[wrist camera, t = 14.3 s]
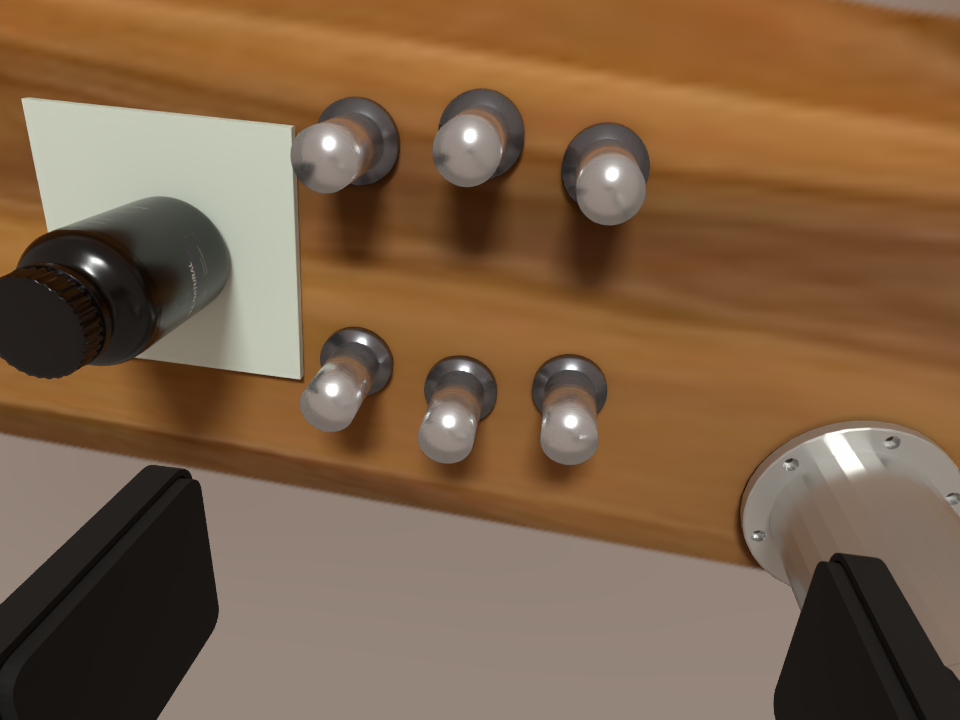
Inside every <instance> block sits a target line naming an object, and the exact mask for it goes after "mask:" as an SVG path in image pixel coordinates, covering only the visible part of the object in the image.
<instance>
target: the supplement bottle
mask: <svg viewBox="0 0 960 720" xmlns="http://www.w3.org/2000/svg"><path fill="white" fill-rule="evenodd" d="M228 273H229V257H228V252H227V248H226V245H225V242H224V240H223V238H222V236H221V234H220V232H219V230H218V229H217V227H216V226H215V225H214V224H213V222H212V221H211V220H210V219H209V218H208V217H207V216H206V215H205V214H204V213H203V212H201V211H200V210H199V209H197V208H196V207H194V206H193V205H191V204H189V203H187V202H185V201H182V200H179V199H176V198H172V197H165V196H154V197H148V198H143V199H140V200H137V201H134V202H131V203H128V204H125V205H123V206H120V207H117V208H114V209H111V210H109V211H106V212H103V213H100V214H97V215H95V216H92V217H89V218H86V219H84V220H81V221H78V222H75V223H72V224H70V225H67V226H64V227H61V228H58V229H56V230H53V231H51V232H48V233H46V234H44V235H42V236H40V237H39V238H37V239H36V240H34V241H33V242H32V243H31V244H30V245H29V246H28V247H27V248H26V249H25V251H24V252H23V254H22V256H21V258H20V260H19V262H18V264H17V267H16V270H14V271H13V272H11V273H10V274H7V275H5V276H2V277H0V357H1V358H2V359H4V360H6V361H7V363H8V364H9V365H11V366H13V367H15V368H16V369H17V370H18V371H21V372H25V373H26V374H27V375H29V376H35V377H37V378H46V379H52V378H61V377H63V376H68V375H70V374H72V373H73V372H75V371H76V370H78V369H80V368H81V367H83V366H86V365H94V366H110V365H117V364H121V363H124V362H127V361H129V360H131V359H133V358H135V357H136V356H138V355H140V354H141V353H143V352H144V351H145V350H147V349H148V348H150V347H151V346H152V345H154V344H155V343H157V342H158V341H159V340H161V339H162V338H163V337H165V336H166V335H168V334H169V333H170V332H172V331H173V330H175V329H176V328H177V327H179V326H180V325H181V324H183V323H184V322H186V321H187V320H188V319H190V318H191V317H193V316H194V315H195V314H197V313H198V312H199V311H201V310H202V309H204V308H205V307H206V306H207V305H209V304H210V303H211V302H213V301H214V300H215V299H216V298H217V297H218V295H219V294H220V293H221V291H222V290H223V288H224V286H225V284H226V281H227V278H228Z"/></svg>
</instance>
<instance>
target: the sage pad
mask: <svg viewBox="0 0 960 720" xmlns="http://www.w3.org/2000/svg"><path fill="white" fill-rule="evenodd" d="M22 104H23V109H24V114H25V119H26V124H27V129H28V134H29V139H30V144H31V149H32V154H33V159H34V164H35V169H36V174H37V179H38V184H39V189H40V194H41V199H42V204H43V209H44V214H45V219H46V224H47V229H48V232H51V231H53V230H56V229H58V228H61V227H64V226H67V225H70V224H72V223H75V222H78V221H81V220H84V219H86V218H89V217H92V216H95V215H97V214H100V213H103V212H106V211H109V210H111V209H114V208H117V207H120V206H123V205H125V204H128V203H131V202H134V201H137V200H140V199H143V198H148V197H154V196H165V197H172V198H176V199H179V200H182V201H185V202H187V203H189V204H191V205H193V206H194V207H196V208H197V209H199V210H200V211H201V212H203V213H204V214H205V215H206V216H207V217H208V218H209V219H210V220H211V221H212V222H213V224H214V225H215V226H216V227H217V229H218V230H219V232H220V234H221V236H222V238H223V240H224V242H225V245H226V248H227V252H228V257H229V273H228V278H227V281H226V284H225V286H224V288H223V290H222V291H221V293H220V294H219V295H218V297H217V298H216V299H215V300H214V301H213V302H211V303H210V304H209V305H207V306H206V307H205V308H204V309H202V310H201V311H199V312H198V313H197V314H195V315H194V316H193V317H191V318H190V319H188V320H187V321H186V322H184V323H183V324H181V325H180V326H179V327H177V328H176V329H175V330H173V331H172V332H170V333H169V334H168V335H166V336H165V337H163V338H162V339H161V340H159V341H158V342H157V343H155V344H154V345H152V346H151V347H150V348H148V349H147V350H145V351H144V352H143V353H141V354H140V355H138V356H136V357H135V358H143V359H150V360H158V361H165V362H173V363H180V364H188V365H195V366H203V367H210V368H218V369H225V370H233V371H240V372H248V373H255V374H263V375H270V376H278V377H285V378H293V379H301V378H302V377H303V376H304V365H303V336H302V307H301V278H300V249H299V220H298V191H297V176H296V174H295V172H294V170H293V168H292V164H291V158H290V152H291V146H292V143H293V141H294V139H295V138H296V133H295V126H293V125H283V124H274V123H265V122H255V121H246V120H236V119H227V118H217V117H208V116H199V115H189V114H180V113H170V112H161V111H151V110H142V109H133V108H123V107H114V106H104V105H95V104H85V103H76V102H67V101H57V100H48V99H38V98H22Z"/></svg>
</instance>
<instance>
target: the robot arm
mask: <svg viewBox="0 0 960 720" xmlns="http://www.w3.org/2000/svg"><path fill="white" fill-rule="evenodd" d="M740 518H741V527H742V531H743V534H744V537H745V541H746V543H747V545H748V547H749V549H750V551H751V554H752V555H753V557H754V558H755V559H756V560H757V562H758V563H759V564H760V565H761V567H762V568H763V569H765V570H766V571H767V572H768V573H770V574H771V575H772V576H773V577H775V578H776V579H778V580H780V581H782V582H784V583H786V584H787V585H789V586H791V588H792V590H793V593H794V595H795V598H796V600H797V603H798V605H799V607H800V610H801V613H800V617H799V619H798V622H797V626H796V628H795V632H794V635H793V637H792V641H791V644H790V647H789V650H788V653H787V656H786V659H785V662H784V665H783V668H782V671H781V674H780V677H779V680H778V683H777V686H776V689H775V693H774V715H775V719H776V720H960V471H959V469H958V467H957V466H956V465H955V464H954V462H953V461H952V460H951V459H950V457H949V456H948V455H947V454H946V453H945V452H944V451H943V450H942V449H941V448H940V447H939V446H938V445H937V444H936V443H935V442H934V441H932V440H931V439H929V438H927V437H926V436H924V435H922V434H921V433H919V432H917V431H915V430H912V429H909V428H906V427H903V426H901V425H898V424H893V423H886V422H880V421H848V422H841V423H835V424H830V425H826V426H823V427H820V428H817V429H813V430H810V431H808V432H806V433H804V434H802V435H800V436H797V437H795V438H793V439H791V440H790V441H788V442H787V443H785V444H784V445H782V446H781V447H779V448H778V449H776V450H775V451H774V452H773V453H772V454H770V455H769V456H768V457H767V458H766V459H765V460H764V461H763V462H762V463H761V464H760V465H759V467H758V468H757V470H756V471H755V472H754V474H753V475H752V477H751V478H750V479H749V482H748V484H747V486H746V489H745V491H744V493H743V497H742V502H741V508H740ZM218 613H219V606H218V599H217V592H216V585H215V578H214V572H213V565H212V558H211V551H210V545H209V538H208V531H207V524H206V517H205V511H204V504H203V497H202V491H201V486H200V483H199V482H198V481H197V480H193V479H192V476H191V474H190V472H189V471H188V470H186V469H181V468H174V467H166V466H158V465H149V466H147V467H145V468H144V469H142V470H141V471H140V472H139V473H138V474H137V475H136V476H135V477H134V478H133V479H132V480H131V481H130V482H129V483H128V484H127V485H126V486H125V487H124V488H122V489H121V490H120V491H119V492H118V493H117V494H116V495H115V496H114V497H113V498H112V499H111V500H110V501H109V502H108V503H107V504H106V505H105V506H104V507H102V509H100V510H99V511H98V512H97V513H96V514H95V515H94V516H93V517H92V518H91V519H90V520H89V521H88V522H87V523H86V524H85V525H84V526H83V527H81V528H80V529H79V530H78V531H77V532H76V533H75V534H74V535H73V536H72V537H71V538H70V539H69V540H68V541H67V542H66V543H65V544H64V545H62V547H60V549H58V550H57V551H56V552H55V553H54V554H53V555H52V556H51V557H50V558H49V559H48V560H47V561H46V562H45V563H44V564H43V565H42V566H40V567H39V568H38V569H37V570H36V571H35V572H34V573H33V574H32V575H31V576H30V577H29V578H28V579H27V580H26V581H25V582H24V583H23V584H22V585H20V586H19V587H18V588H17V589H16V590H15V591H14V592H13V593H12V594H11V595H10V596H9V597H8V598H7V599H6V600H5V601H4V602H3V603H1V604H0V720H157V718H158V717H159V715H160V713H161V712H162V710H163V709H164V707H165V706H166V704H167V702H168V701H169V699H170V698H171V696H172V695H173V693H174V692H175V690H176V688H177V687H178V685H179V683H180V682H181V681H182V679H183V677H184V676H185V674H186V673H187V671H188V669H189V668H190V666H191V665H192V663H193V662H194V660H195V658H196V657H197V656H198V654H199V652H200V651H201V649H202V648H203V646H204V644H205V643H206V641H207V640H208V638H209V637H210V635H211V634H212V632H213V630H214V628H215V625H216V623H217V618H218Z"/></svg>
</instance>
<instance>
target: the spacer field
mask: <svg viewBox="0 0 960 720" xmlns="http://www.w3.org/2000/svg"><path fill="white" fill-rule="evenodd" d="M524 136H525V131H524V124H523V120H522V117H521V114H520V112H519V110H518V109H517V107H516V106H515V105H514V103H513V102H512V101H511V100H510V99H509V98H507V97H506V96H505V95H503V94H501V93H499V92H497V91H494V90H491V89H481V88H480V89H473V90H469V91H467V92H464V93H462V94H461V95H459V96H457V97H456V98H455V99H454V100H452V101H451V102H450V104H449V105H448V106H447V107H446V109H445V110H444V112H443V114H442V117H441V119H440V123H439V129H438V133H437V134H436V136H435V139H434V142H433V159H434V163H435V165H436V168H437V169H438V171H439V172H440V174H441V175H442V176H443V177H444V178H445V179H446V180H447V181H449V182H451V183H452V184H455V185H457V186H462V187H473V186H477V185H480V184H482V183H484V182H485V181H487V180H488V179H490V178H494V177H497V176H499V175H501V174H503V173H504V172H506V171H507V170H508V169H510V168H511V167H512V166H513V164H514V163H515V162H516V160H517V159H518V157H519V155H520V153H521V150H522V147H523V144H524ZM399 151H400V138H399V132H398V129H397V126H396V124H395V122H394V120H393V118H392V117H391V115H390V114H389V113H388V112H387V111H386V110H385V109H384V108H383V107H382V106H381V105H379V104H378V103H376V102H375V101H372V100H370V99H367V98H363V97H348V98H344V99H341V100H338V101H336V102H334V103H333V104H331V105H330V106H329V107H328V108H326V110H325V111H324V112H323V113H322V115H321V116H320V119H319V121H318V123H317V124H315V125H313V126H310V127H308V128H305V129H304V130H302V131H301V132H300V133H299V134H298V135H297V136H296V138H295V139H294V141H293V143H292V146H291V152H290V158H291V164H292V168H293V170H294V172H295V174H296V176H297V177H298V179H299V180H300V181H301V182H302V183H303V184H304V185H305V186H306V187H308V188H309V189H311V190H313V191H316V192H319V193H334V192H337V191H339V190H341V189H343V188H344V187H346V186H347V185H348V184H353V185H367V184H371V183H374V182H376V181H378V180H380V179H381V178H383V177H384V176H385V175H387V174H388V173H389V172H390V171H391V169H392V168H393V167H394V165H395V163H396V161H397V158H398V155H399ZM649 169H650V162H649V156H648V152H647V149H646V147H645V145H644V144H643V142H642V140H641V139H640V138H639V136H638V135H637V134H636V133H635V132H633V131H632V130H631V129H629V128H627V127H625V126H623V125H620V124H617V123H599V124H595V125H592V126H589V127H588V128H586V129H584V130H582V131H581V132H580V133H579V134H577V135H576V136H575V137H574V139H573V140H572V141H571V142H570V144H569V145H568V147H567V149H566V151H565V154H564V157H563V162H562V178H563V182H564V185H565V188H566V190H567V192H568V193H569V195H570V196H571V198H572V199H573V200H574V201H575V202H576V203H578V205H579V207H580V209H581V210H582V212H583V213H584V214H585V216H586V217H588V218H589V219H590V220H592V221H593V222H596V223H598V224H602V225H617V224H620V223H623V222H625V221H627V220H629V219H630V218H632V217H633V216H634V215H635V214H636V213H637V212H638V210H639V209H640V208H641V206H642V204H643V201H644V198H645V194H646V182H647V179H648V176H649ZM320 363H321V369H320V370H319V372H318V373H317V374H316V376H315V377H314V379H313V380H312V381H311V383H310V384H309V385H308V387H307V388H306V389H305V391H304V392H303V394H302V395H301V398H300V409H301V412H302V414H303V416H304V418H305V419H306V420H307V421H308V422H309V423H310V424H311V425H312V426H314V427H315V428H317V429H319V430H322V431H326V432H337V431H341V430H343V429H345V428H346V427H348V426H349V425H350V423H351V422H352V420H353V418H354V417H355V415H356V413H357V411H358V409H359V408H360V406H361V404H362V402H363V401H364V399H365V397H366V395H371V394H374V393H376V392H378V391H379V390H381V389H382V388H383V387H384V386H385V384H386V383H387V381H388V380H389V378H390V376H391V373H392V370H393V357H392V353H391V351H390V349H389V347H388V345H387V344H386V343H385V341H384V340H383V339H382V338H381V337H380V336H378V335H377V334H376V333H374V332H372V331H370V330H368V329H365V328H360V327H347V328H343V329H340V330H338V331H336V332H335V333H334V334H332V335H331V336H330V338H329V339H328V340H327V341H326V343H325V344H324V346H323V348H322V350H321V355H320ZM424 392H425V397H426V400H427V403H428V404H429V406H428V408H427V411H426V414H425V416H424V419H423V421H422V424H421V427H420V429H419V432H418V443H419V446H420V448H421V450H422V451H423V452H424V453H425V455H427V456H428V457H429V458H430V459H432V460H434V461H436V462H440V463H445V464H451V463H456V462H459V461H461V460H463V459H465V458H466V457H467V456H468V455H469V453H470V452H471V450H472V447H473V443H474V439H475V434H476V430H477V426H478V422H479V420H481V419H482V418H484V417H485V416H486V415H487V414H488V413H489V412H490V411H491V410H492V408H493V406H494V404H495V400H496V395H497V384H496V380H495V378H494V375H493V374H492V372H491V371H490V370H489V368H488V367H487V366H486V365H484V364H483V363H482V362H480V361H478V360H476V359H474V358H471V357H468V356H460V355H459V356H450V357H447V358H444V359H442V360H440V361H439V362H437V363H436V364H435V365H434V366H433V367H432V369H431V370H430V372H429V374H428V376H427V379H426V382H425V387H424ZM532 394H533V399H534V402H535V404H536V406H537V408H538V409H539V410H540V412H541V413H542V425H541V438H540V442H541V447H542V449H543V451H544V453H545V454H546V455H547V456H548V457H549V458H550V459H551V460H553V461H555V462H557V463H560V464H564V465H576V464H580V463H582V462H585V461H586V460H588V459H589V458H590V457H592V455H593V454H594V453H595V451H596V449H597V446H598V429H597V413H598V412H599V411H600V410H601V409H602V407H603V406H604V403H605V401H606V397H607V384H606V379H605V376H604V374H603V372H602V370H601V369H600V368H599V367H598V366H597V365H596V364H595V363H594V362H593V361H591V360H590V359H588V358H585V357H583V356H580V355H574V354H565V355H559V356H556V357H554V358H551V359H549V360H548V361H546V362H545V363H544V364H543V365H542V366H541V367H540V368H539V369H538V371H537V372H536V374H535V377H534V380H533V388H532Z"/></svg>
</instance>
